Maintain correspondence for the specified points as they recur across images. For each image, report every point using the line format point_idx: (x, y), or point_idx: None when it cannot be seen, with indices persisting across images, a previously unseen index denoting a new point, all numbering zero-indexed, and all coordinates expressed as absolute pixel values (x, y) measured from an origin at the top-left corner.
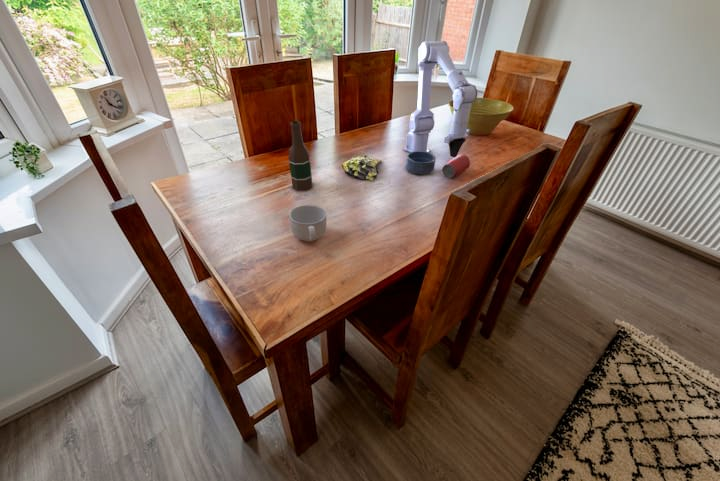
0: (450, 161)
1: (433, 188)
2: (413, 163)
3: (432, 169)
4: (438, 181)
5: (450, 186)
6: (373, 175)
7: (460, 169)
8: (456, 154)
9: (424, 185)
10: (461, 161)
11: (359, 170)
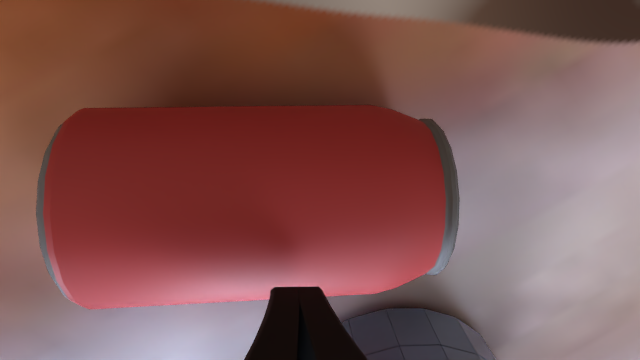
0: (389, 270)
1: (629, 152)
2: None
3: (399, 324)
4: (490, 190)
5: (523, 63)
6: None
7: (338, 114)
8: (303, 305)
9: (612, 227)
10: (257, 183)
11: None
